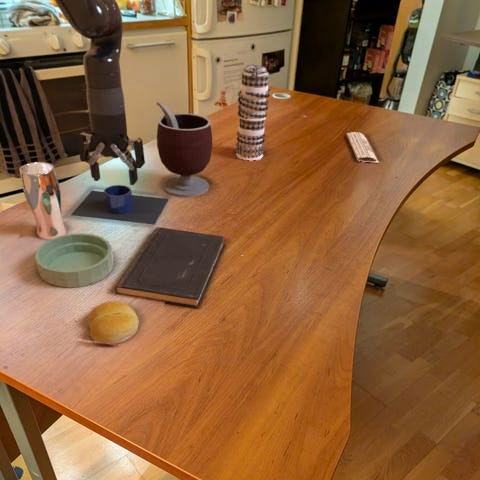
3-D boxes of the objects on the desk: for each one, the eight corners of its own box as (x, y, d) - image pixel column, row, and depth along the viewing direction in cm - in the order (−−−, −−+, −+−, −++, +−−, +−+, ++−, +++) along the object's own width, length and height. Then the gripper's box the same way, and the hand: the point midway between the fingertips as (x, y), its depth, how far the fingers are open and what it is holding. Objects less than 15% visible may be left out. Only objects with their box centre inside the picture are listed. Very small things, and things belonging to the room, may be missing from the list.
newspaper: (346, 136, 163) (347, 131, 162) (366, 138, 163) (367, 132, 162) (356, 162, 145) (357, 156, 144) (379, 163, 145) (380, 157, 144)
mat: (66, 220, 107) (66, 219, 106) (92, 191, 119) (92, 190, 119) (150, 230, 105) (150, 228, 105) (168, 200, 118) (168, 198, 117)
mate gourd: (221, 186, 126) (224, 108, 113) (189, 203, 117) (188, 121, 104) (178, 171, 132) (175, 96, 119) (144, 186, 123) (137, 107, 110)
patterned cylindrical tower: (270, 156, 144) (279, 67, 128) (250, 163, 139) (257, 72, 123) (249, 148, 149) (254, 61, 133) (228, 154, 144) (232, 65, 128)
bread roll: (93, 351, 75) (89, 333, 72) (87, 317, 81) (83, 299, 78) (144, 341, 77) (142, 323, 75) (134, 308, 84) (131, 291, 81)
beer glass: (35, 228, 103) (17, 163, 94) (67, 224, 105) (54, 160, 96) (36, 244, 98) (18, 176, 89) (70, 239, 100) (56, 173, 91)
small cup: (103, 212, 110) (100, 194, 107) (111, 201, 115) (109, 183, 112) (128, 215, 109) (126, 197, 106) (136, 204, 114) (134, 186, 111)
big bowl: (26, 284, 87) (21, 267, 85) (58, 246, 98) (54, 229, 96) (98, 293, 86) (95, 276, 84) (123, 254, 97) (121, 237, 95)
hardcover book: (224, 245, 102) (225, 236, 101) (198, 308, 85) (198, 298, 83) (155, 235, 104) (154, 226, 102) (115, 295, 86) (114, 285, 85)
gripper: (144, 107, 99) (149, 179, 110) (81, 100, 100) (91, 172, 110) (134, 117, 93) (140, 192, 104) (66, 109, 94) (79, 184, 105)
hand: (115, 181), depth 107 cm, fingers open, 8 cm apart
